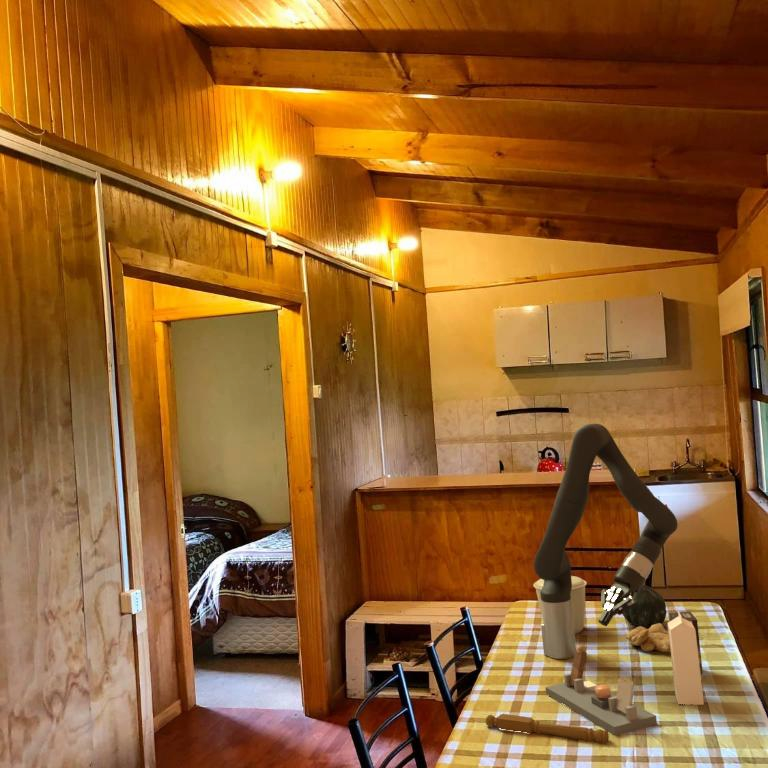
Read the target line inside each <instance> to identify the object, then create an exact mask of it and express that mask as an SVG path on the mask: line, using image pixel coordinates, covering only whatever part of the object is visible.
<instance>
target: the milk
mask: <svg viewBox="0 0 768 768" xmlns="http://www.w3.org/2000/svg"><path fill="white" fill-rule="evenodd" d="M677 612H678V617H676V618H675V619H673V620H672V621H670V622H669V621H668V622H667V631H668V632H669V641H670V650H671V651H670V659H671V666H672V667H671V668H672V676H673V677H672V678H673V685H674V694H675V695H674V696H675V697H676V701H677V704H678V705H679V704H681V705H682V704H683V706H684V704H685V706H687V705H688V706H690V705H691V704H692V705H691V706H696V705H697V706H703V705H704V695H703V685H702V679H701V675H700V666H699V658H698V649H697V640H696V631H695V628H694V626H693V624H692V623H691V622H690V621H688V620H686V619H684V618H682V616H681V615H680V613H679V612H680V611H679V610H677ZM681 705H680V706H681Z"/></svg>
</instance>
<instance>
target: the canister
mask: <svg viewBox="0 0 768 768" xmlns="http://www.w3.org/2000/svg"><path fill="white" fill-rule="evenodd" d="M571 580H572V589H571V605H572V614H573V624H574V633H575V635H576V634H579V633H580V632H582V631H583V629H584V627H585V623H586V621H585V620H586V618H585V617H586V586H587V581H586V580H584V579H583V578H581V577H579V576H576V575H575V576H574V575H571ZM543 585H544V580H543V579H541V578H539V579H538V580H537V581H535V582H534V583H533V587H534V589H535V591H536V596H537V601H538V602H537V603H538V606H539V610H540V615H541V619H542V621H543V613H542V604H541V590H542V587H543Z"/></svg>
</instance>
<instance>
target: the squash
mask: <svg viewBox="0 0 768 768" xmlns="http://www.w3.org/2000/svg"><path fill="white" fill-rule="evenodd" d="M632 598H633V600H634V601H635V602H636V604H635V605H634V606H633V607H631V608H630V609H629V610H627V611H626V612H624V613H623V614H622V616H623V618H625V620H626V622H628V623H629V624H631V625H634V626H639V627H644V628H646V629H647V628H650V627H651V626H652V625H654V624H658V623H660V624H662V625H663V624H664V622H665V620H666V617H667V605H666V600H665V599H664V597H663V596H662V595H661V593H659V592H658V591H657V590H655V588H652V587H650V586H649V585H646V584H643V586H642V587H641V589H640V591H639V592H638V593H634V596H633V597H632Z"/></svg>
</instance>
